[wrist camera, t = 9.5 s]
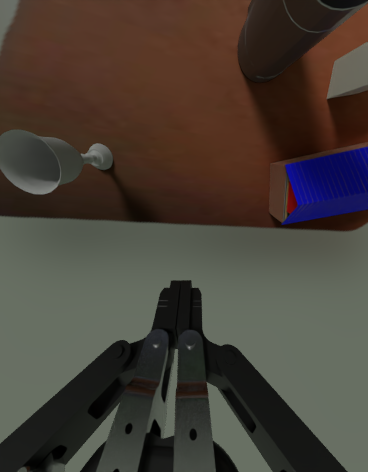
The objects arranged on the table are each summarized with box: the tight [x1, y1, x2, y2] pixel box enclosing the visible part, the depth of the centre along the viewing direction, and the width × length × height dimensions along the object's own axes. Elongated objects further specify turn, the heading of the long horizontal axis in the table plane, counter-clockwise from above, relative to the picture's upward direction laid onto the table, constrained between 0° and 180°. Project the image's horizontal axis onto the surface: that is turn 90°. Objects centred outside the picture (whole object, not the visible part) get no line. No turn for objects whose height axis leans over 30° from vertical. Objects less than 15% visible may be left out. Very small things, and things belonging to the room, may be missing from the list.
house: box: [269, 142, 368, 225], centre depth 32 cm, size 12×20×12 cm, turn 102°
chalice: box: [0, 130, 113, 194], centre depth 27 cm, size 7×7×18 cm
